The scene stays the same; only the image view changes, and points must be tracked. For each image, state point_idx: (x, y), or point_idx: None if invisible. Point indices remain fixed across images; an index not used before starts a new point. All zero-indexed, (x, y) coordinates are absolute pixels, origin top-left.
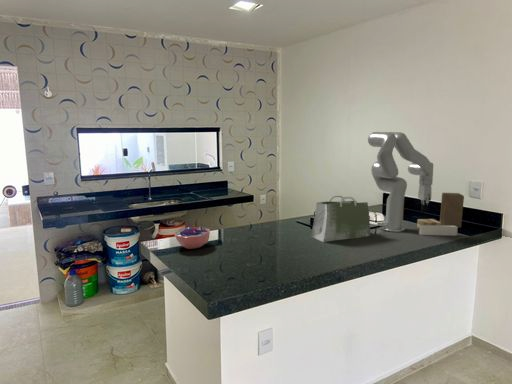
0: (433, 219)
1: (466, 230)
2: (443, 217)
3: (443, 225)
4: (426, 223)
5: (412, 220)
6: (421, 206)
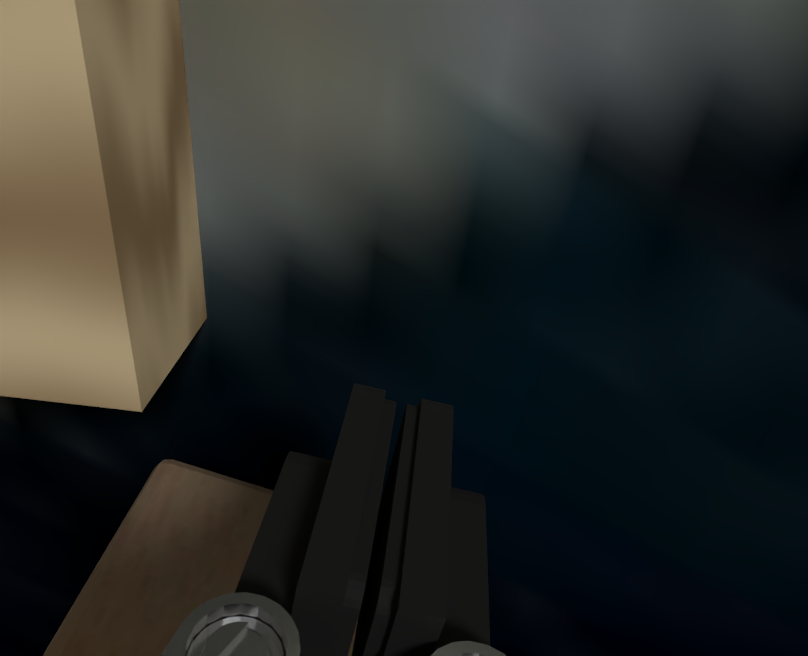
0: (87, 386)
1: (6, 592)
2: (153, 603)
3: (169, 472)
4: None
5: (775, 201)
6: (436, 514)
